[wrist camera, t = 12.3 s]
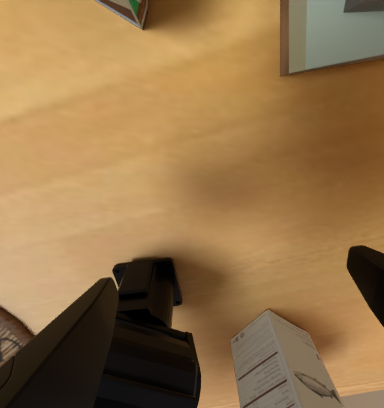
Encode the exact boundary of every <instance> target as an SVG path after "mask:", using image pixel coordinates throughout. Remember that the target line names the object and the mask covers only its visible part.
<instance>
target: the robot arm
mask: <svg viewBox="0 0 384 408" xmlns="http://www.w3.org/2000/svg"><path fill="white" fill-rule="evenodd" d="M167 263H170V264H167ZM116 269H118V270H116ZM347 269H348V271H349V273H350V275H351V277H352V278H353V280H354V282H355V283H356V285H357V287H358V289H359V290H360V292H361V294H362V295H363V297H364V299H365V301H366V302H367V304H368V306H369V307H370V309H371V310H372V312H373V313H374V315H375V316H376V317H377V319H378V320H379V322H380V323H381V324H382V326H383V327H384V253H381V252H379V251H376V250H374V249H371V248H369V247H366V246H363V245H359V246H352V247H350V249H349V252H348V259H347ZM112 271H113V274H114V277H115V279H116V282H117V284H118V287H119V288H118V290H117V288H116V285H115V283H114V280H113V279H112V278H111V277H107V278H101V279H100V280H98V281H97V282H96V283H95V284H94V285H93V286H92V287H91V288H89V289H88V290H87V291H86V292H85V293H84V294H83V295H81V296H80V297H79V298H78V299H77V300H76V301H75V302H73V303H72V304H71V305H70V306H69V307H68V308H67V309H66V310H64V311H63V312H62V313H61V314H60V315H59V316H58V317H56V318H55V319H54V320H53V321H52V322H51V323H50V324H48V325H47V326H46V327H45V328H44V329H43V330H42V331H41V332H39V333H38V334H37V335H36V336H35V337H34V338H33V339H31V340H30V341H29V342H28V343H27V344H26V345H25V346H23V347H22V348H21V349H20V350H19V351H18V352H17V353H16V354H15V356H12V357H11V358H10V359H9V360H7V361H6V362H5V363H4V364H3V365H2V366H1V367H0V408H197V406H198V402H199V397H200V390H201V372H200V367H199V362H198V358H197V354H196V349H195V345H194V340H193V336H192V333H189V332H182V331H179V330H175V329H172V328H171V326H172V314H173V306H179V305H181V304H182V296H181V292H180V287H179V283H178V279H177V275H176V271H175V266H174V262H173V260H172V259H170V258H166V259H158V260H149V261H142V262H134V263H127V264H120V265H115V266H114V268H113V270H112Z"/></svg>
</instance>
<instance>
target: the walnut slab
mask: <svg viewBox="0 0 384 408" xmlns="http://www.w3.org/2000/svg"><path fill="white" fill-rule="evenodd" d="M379 59H384V54H383V55H378V56H373V57H368V58H363V59H358V60H353V61H348V62H343V63H338V64H333V65H328V66H323V67H318V68H313V69H308V70H303V71H298V72H293V73H289V0H280V76H285V75H291V74H297V73H303V72H309V71H314V70H320V69H326V68H332V67H338V66H344V65H350V64H355V63H361V62H367V61H373V60H379Z"/></svg>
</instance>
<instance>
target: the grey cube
mask: <svg viewBox="0 0 384 408" xmlns="http://www.w3.org/2000/svg"><path fill="white" fill-rule="evenodd" d="M372 11H384V0H346V1H345V6H344V11H343V13H348V12H372Z"/></svg>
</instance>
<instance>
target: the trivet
mask: <svg viewBox="0 0 384 408" xmlns="http://www.w3.org/2000/svg"><path fill="white" fill-rule="evenodd" d="M34 337H35V336H34V335H33V334H32V333H31V332H30V331H29V330H28V329H27V328H26V327H25V326H24V325H23V324H22V323H21V322H20V320H18V319H17V318H15V317H14V316H13V315H11V314H10V313H8V312H7V311H5V310H4V309H3V308H1V307H0V367H1V366H2V365H3V364H4V363H5V362H6V361H7V360H9V359H10V358H11V357H12V356H15V354H16V353H17V352H18V351H19V350H20V349H21V348H22V347H23V346H25V345H26V344H27V343H28V342H29V341H30V340H31V339H33V338H34Z"/></svg>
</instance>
